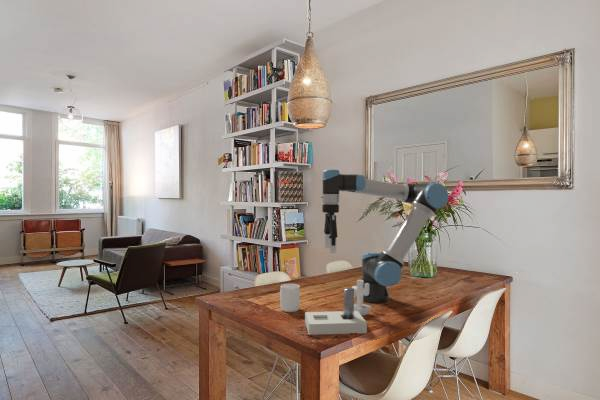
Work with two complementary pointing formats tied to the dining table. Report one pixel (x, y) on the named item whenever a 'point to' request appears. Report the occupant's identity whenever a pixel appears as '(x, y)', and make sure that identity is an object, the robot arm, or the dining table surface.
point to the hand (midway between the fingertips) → (330, 250)
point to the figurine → (361, 297)
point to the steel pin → (348, 303)
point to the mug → (289, 297)
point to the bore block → (334, 323)
